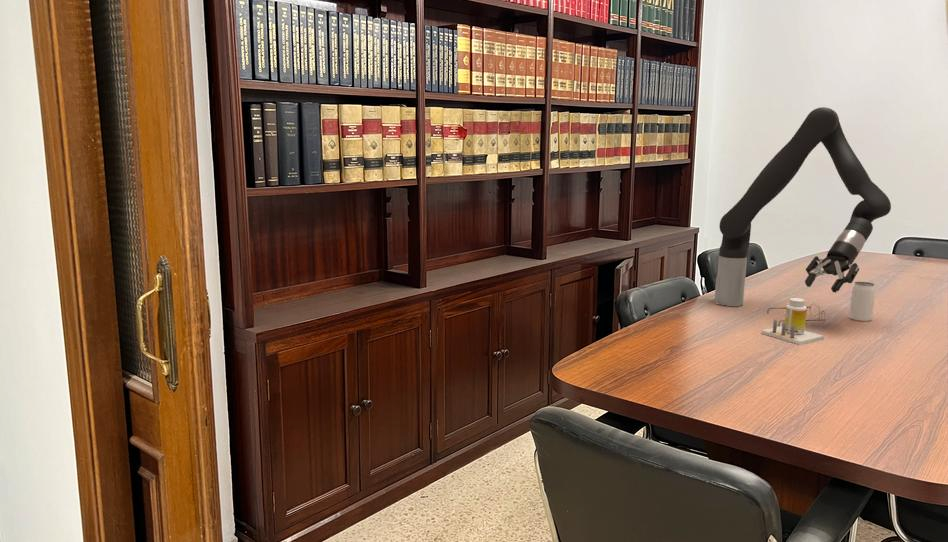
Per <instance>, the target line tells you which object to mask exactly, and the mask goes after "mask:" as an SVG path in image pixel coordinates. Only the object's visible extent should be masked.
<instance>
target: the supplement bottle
mask: <svg viewBox="0 0 948 542" xmlns="http://www.w3.org/2000/svg"><path fill="white" fill-rule="evenodd" d="M806 307H807V306H806V305H805V299H804V298H800V297H791V298H790V299H789V304H787V305H786V307H785V308H786V309H785V319H784V320H785V321H784V322H786V330H785V332H787V333H790V334H791V326H792V324H794V325H795V334H803V333H804V332H805V331H806V323H807V321H806V320H807V309H808V308H806Z"/></svg>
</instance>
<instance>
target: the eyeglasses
mask: <svg viewBox="0 0 948 542" xmlns="http://www.w3.org/2000/svg"><path fill="white" fill-rule="evenodd" d="M813 305H814V306H817V307H818V318H817V319H806V322H817V321H818V322H819V321H820V322H821V324H822V323H823V325H824V326H823V328H824V329H825V328H826V312H825V310H824V309H823V308H822V307H820V306H818V305H817V304H816V303H811V304H810V306H806V308H807V309H809V315H810V316H811V317H812V316H813V315H812V313H811V310H812V306H813ZM777 309H778V310H779V309H782V310H783V309H785V310H786V307H769V308H767V310H766V314H769V311H770V310H777ZM820 309H821V310H822V311H821V310H820ZM823 314H824V315H823ZM823 316H824V317H823ZM820 317H821V318H823V319H820ZM783 322H785V319H783V320H779V322H777V327H779V326H781V325H780V324H781V323H783Z"/></svg>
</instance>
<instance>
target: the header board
mask: <svg viewBox="0 0 948 542" xmlns="http://www.w3.org/2000/svg"><path fill="white" fill-rule="evenodd" d="M781 323H782V324H781V325H780V326H778V319H773V325H772V327H771V328H766V329H762V330H761V333H762V335H765V334H766V335H765V336H768V335H769V337H771V336H773V337H772V338H775V337H776V339H778V338H779V340H783V341H785V340H786V341H785V342H788V341H789V343H792V342H793V344H795V343H796V345H799V344H802V345H805V343H806V344H808V343H809V342H810V343H813V341H814V342H817V341H818V342H819V341H822V340H824V338H825V336H824V335H821V334H818V333H814V332H810V331H806V330H805V332H804V333H803V334H795V325H794V324H792V326H791V334H790V333H787V332H785V330H786V322H785V321H782V322H781Z"/></svg>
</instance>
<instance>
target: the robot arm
mask: <svg viewBox="0 0 948 542" xmlns="http://www.w3.org/2000/svg"><path fill="white" fill-rule="evenodd" d="M820 143H821V144H822V145H823V146H824V148H825V149H826V151H827V153H828V154H829V156H830V158H831V160H832V163H833V165H834V167H835V169H836V171H837V173H838V176H839V177H840V179H841V182H843V184H844V186H845V188H846V190H847V191H848V193H849V194H850V195H852V196H859V197H861V198H862V199H863V200H861V201H859V202H858V203H857V204H856V205H855V207H854V209H853V211H852V213H851V216H850V220H849V222H848V223H847V225H846V226H845V228H844V229H843V231H842V232H841V233H840V234H839V235H838V236H837V238H836V240H834V242H833V244H832V246H831V247H830V249H829V250H828V251H827V254H826V257H824V258H823V259H822V258H819V257H818V256H814V258H813V259H812V260H811V261H810V263H809V264H808V265H807V267H805V271H806V273H807V274H808V275H807V277H806V278H805V280H804V283H805V286H806V287H807V288H810V287H811V286H812V285H813V283H814V282H815V280H816V278H818V277H819V276H824V275H825V274H826V275H832V276H835V277H836V276H837V277H838V278H836V280H835V281H834V282H833V284H832V286H831V288H830V290H831V292H832V293H835V294H836V293H837V292H839V291H840V289H841V288H842V287H843V285H844V284H847V283H848V284H852V283H853V282H854V280H855V279H856V277H857V274H858V273H859V271H860V268H859V265H858V263H856V262H855V260H856V258H857V257H858V255H859V254H860V252H862V249H863V247H864V245H865V244H866V242H867V241H868V239H869V237H870V236H871V234H872V232H873V229H874V227H873V226H874V225H873V224H872V222H874V221H875V220H878V219H880V218H883V217H886V216H887V215H889V213H890V212H891V210H892V204H891V200H890V198H889V197H888V195H887V194H886V193H885V192H884V191H883V190H882V189H881V188H880V187H879V186H878V185H877V184H876V183H874V182H873V181H872V180H871V178H870V176H869V174H868V172H867V170H866V169H865V167H864V166H863V164H862V162H861V160H859V158H858V157H857V155H856V153H855V152H854V150H853V148H852V147H851V146H850V143H849V141H848V140H847V138H846V135H845V134H844V130H843V127H842V125H841V122H840V118H839V115H838V114H837V112H836V111H835V110H834V109H831V108H830V107H824V106H822V107H817V108H814V109H813V110H811V111H810V112H809V113H808V114H807V116H806V117H805V119H804V120H803V122H802V124H801V125H800V126H799V128H798V129H797V130H796V131H795V133H794V135H793V136H792V137H791V139H790V140H789V141H788V142H787V143H786V144H785V145H784V146H783V147H782V148H781V149H780V150H779V151H778V152H777V153H776V154H775V155H774V156H773V157H772V158H771V160H769V162H768V163H767V164H766V165H765V166H764V168H763V169H762V170H761V171H760V173H758V175H757V176H756V178H754V180H753V182H752V183H751V184H750V186H749V187H748V189H747V190H746V192H745V193H744V194H743V196H742V197H741V199H739V200H738V202H737V203H735V204H734V205H733V206H732V207H731V209H730V208H729V210H728V211H727V212H726V213H724V214H723V216H722V217H721V218H720V221H719V231H720V233H721V234H722V240H721V244H720V246H719V251H718V265H717V276H716V278H715V286H714V287H715V288H714V289H715V290H714V302H713V303H714V304H715V303H718V304H717V305H720V304H721V305H720V306H724V305H726V306H725V307H741V305H742V306H744V299H745V298H744V296H745V285H746V276H747V274H746V272H747V261H748V260H747V259H748V252H749V248H750V240H751V232H752V231H751V230H752V222H753V220H754V219H755V218H756V216H758V214H759V212H760V211H761V210H762V209H764V207H766V206H767V205H768V204H769V203H771V202H772V200H774V199H775V198H776V197H777V196H778V195H779V194H780V193H782V191H783V190H785V188H786V187H787V186H788V185H789V183H790V182H791V181H792V180H793V178H794V177H795V176H796V175H797V173H798V172H799V170H800V169H801V167H802V166H803V164H804V163H805V161H806V159H807V158H808V156H809V154H810V153H811V152H812V151H813V150H814V149H815V148H816V147H817V146H818V145H819V144H820ZM845 272H847V273H846V275H845Z"/></svg>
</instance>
